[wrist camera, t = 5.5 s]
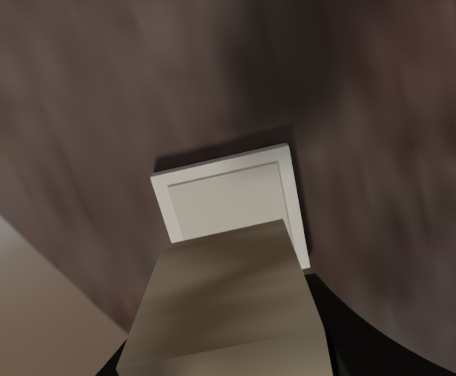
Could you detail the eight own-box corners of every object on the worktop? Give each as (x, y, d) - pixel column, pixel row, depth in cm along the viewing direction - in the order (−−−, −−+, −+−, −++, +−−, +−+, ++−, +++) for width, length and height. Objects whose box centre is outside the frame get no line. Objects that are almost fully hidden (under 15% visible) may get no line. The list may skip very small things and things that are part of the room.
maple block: (282, 218, 13) (323, 328, 7) (303, 317, 15) (351, 471, 9) (163, 245, 13) (115, 368, 8) (196, 338, 15) (176, 498, 9)
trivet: (286, 142, 19) (289, 146, 18) (307, 260, 21) (310, 268, 21) (153, 173, 19) (149, 177, 19) (188, 284, 22) (187, 292, 21)
